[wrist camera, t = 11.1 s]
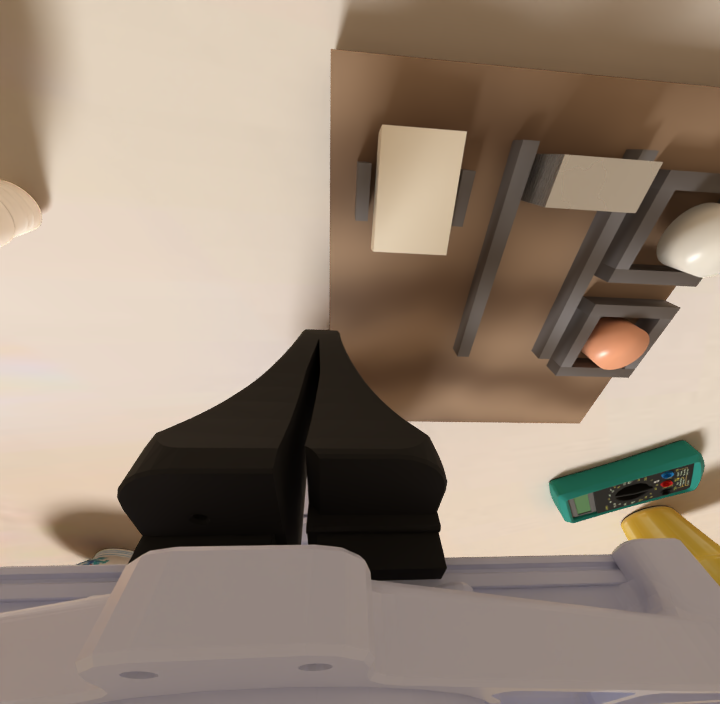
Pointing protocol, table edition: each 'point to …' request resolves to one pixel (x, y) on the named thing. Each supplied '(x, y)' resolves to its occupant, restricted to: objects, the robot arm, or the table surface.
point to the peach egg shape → (615, 343)
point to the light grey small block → (589, 182)
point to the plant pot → (674, 534)
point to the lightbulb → (16, 212)
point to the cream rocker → (415, 189)
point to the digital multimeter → (628, 482)
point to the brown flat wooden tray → (507, 234)
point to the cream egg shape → (693, 241)
